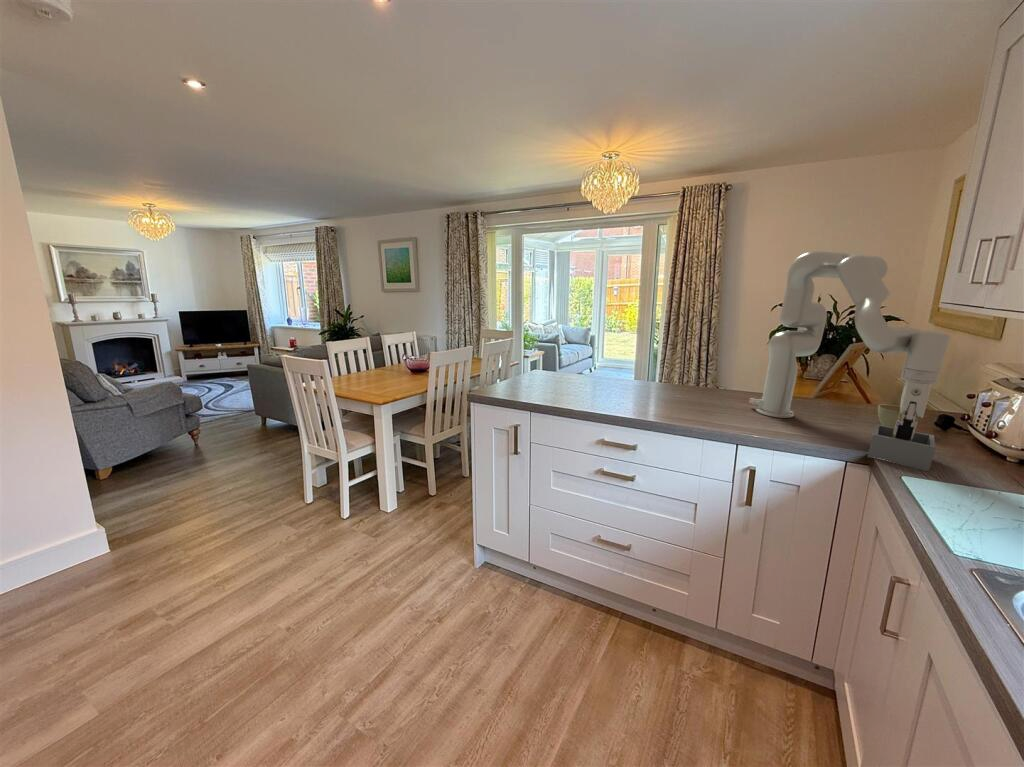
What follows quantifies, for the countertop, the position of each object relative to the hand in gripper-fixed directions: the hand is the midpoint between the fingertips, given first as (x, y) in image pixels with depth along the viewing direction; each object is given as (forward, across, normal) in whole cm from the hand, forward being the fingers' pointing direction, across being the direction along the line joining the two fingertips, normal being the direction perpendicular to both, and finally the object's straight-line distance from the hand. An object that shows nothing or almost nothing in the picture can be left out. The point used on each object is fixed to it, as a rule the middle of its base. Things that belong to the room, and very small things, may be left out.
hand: (902, 436), depth 122 cm
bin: (+7, 0, 0) cm, 7 cm away
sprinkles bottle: (+4, 0, 0) cm, 4 cm away
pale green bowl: (+7, +34, +2) cm, 35 cm away
